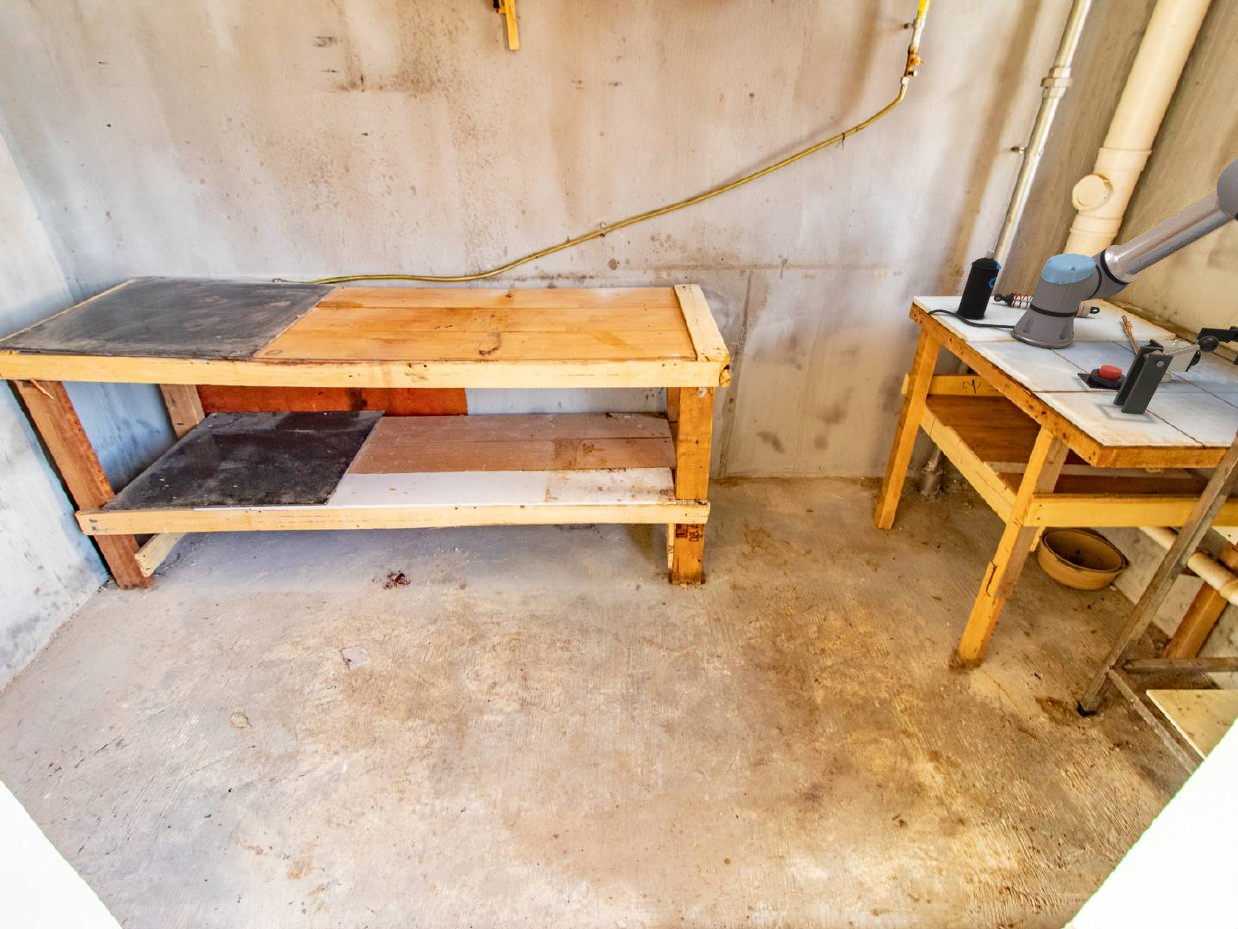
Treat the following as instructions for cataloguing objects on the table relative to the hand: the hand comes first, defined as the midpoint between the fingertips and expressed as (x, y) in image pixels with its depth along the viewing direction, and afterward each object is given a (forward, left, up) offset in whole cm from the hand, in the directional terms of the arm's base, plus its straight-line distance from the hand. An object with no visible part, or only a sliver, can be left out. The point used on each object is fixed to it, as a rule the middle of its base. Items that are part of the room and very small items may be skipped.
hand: (1217, 345), depth 141 cm
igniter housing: (-14, +10, -18) cm, 25 cm away
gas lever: (-5, -2, -4) cm, 7 cm away
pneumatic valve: (-3, +20, -18) cm, 27 cm away
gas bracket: (-10, -4, -18) cm, 21 cm away
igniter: (-14, +10, -15) cm, 23 cm away
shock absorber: (-29, +65, -18) cm, 73 cm away
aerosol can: (-49, +48, -18) cm, 71 cm away
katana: (-6, +50, -18) cm, 53 cm away
